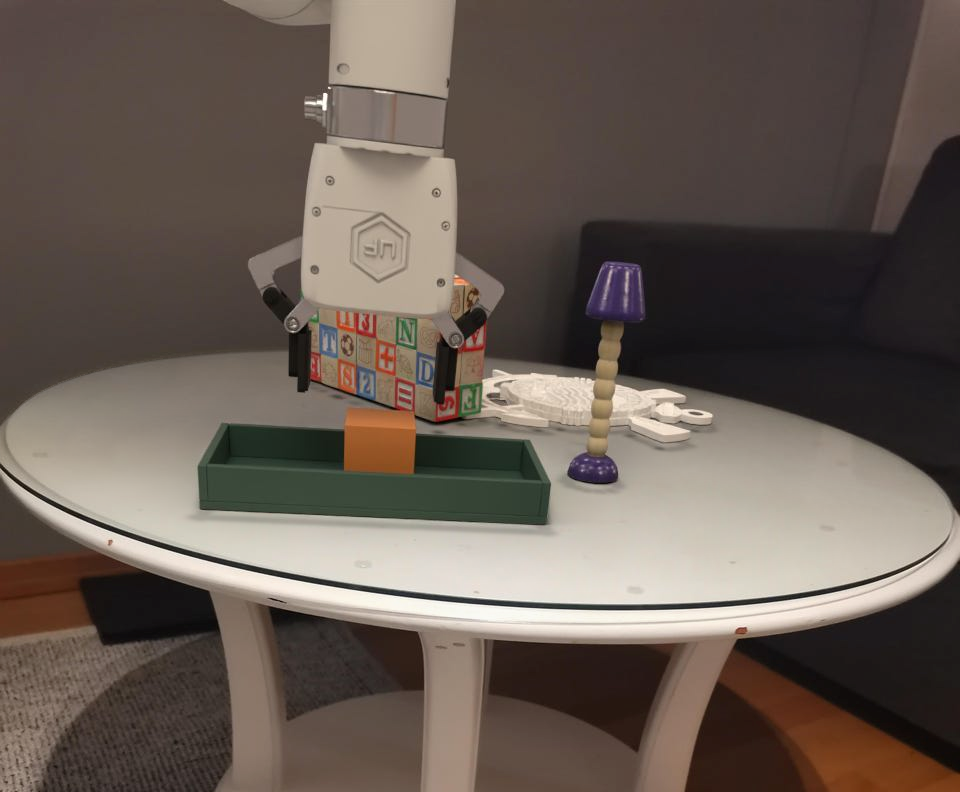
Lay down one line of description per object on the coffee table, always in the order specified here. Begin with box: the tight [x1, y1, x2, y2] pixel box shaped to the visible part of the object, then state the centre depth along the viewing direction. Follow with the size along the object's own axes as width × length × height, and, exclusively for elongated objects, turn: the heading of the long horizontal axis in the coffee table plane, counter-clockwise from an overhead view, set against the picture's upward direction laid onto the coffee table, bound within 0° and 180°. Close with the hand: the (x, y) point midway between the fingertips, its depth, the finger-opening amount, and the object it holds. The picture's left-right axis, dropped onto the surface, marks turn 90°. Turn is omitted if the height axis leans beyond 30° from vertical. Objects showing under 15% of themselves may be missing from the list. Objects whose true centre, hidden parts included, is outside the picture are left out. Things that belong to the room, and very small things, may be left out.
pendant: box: [460, 369, 714, 444], centre depth 103 cm, size 21×28×1 cm
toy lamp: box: [567, 261, 646, 484], centre depth 78 cm, size 5×5×17 cm
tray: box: [197, 422, 552, 525], centre depth 72 cm, size 24×11×3 cm, turn 95°
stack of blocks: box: [300, 274, 488, 423], centre depth 97 cm, size 21×6×12 cm, turn 44°
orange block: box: [344, 407, 417, 474], centre depth 72 cm, size 5×5×5 cm
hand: (371, 394), depth 70 cm, fingers open, 9 cm apart
